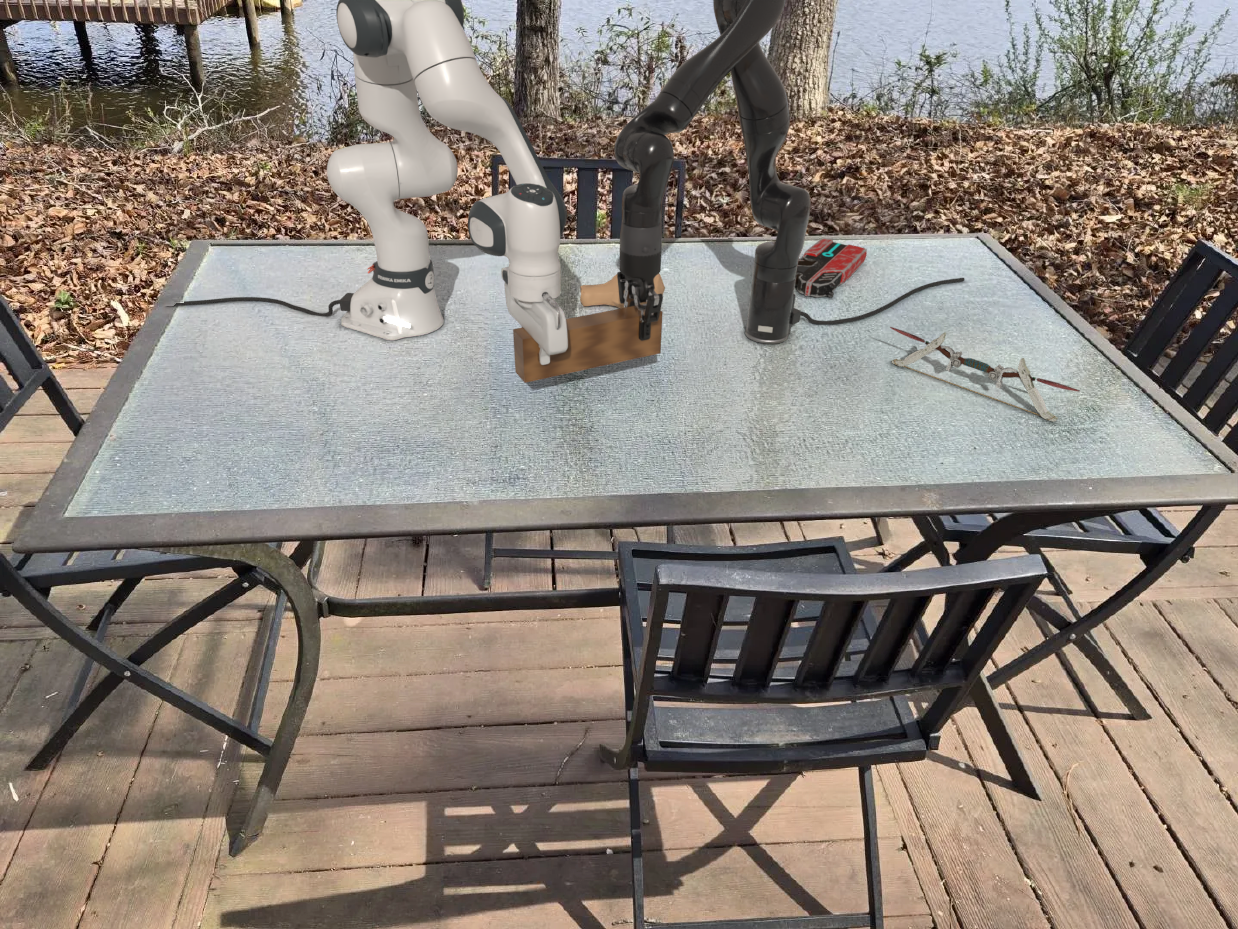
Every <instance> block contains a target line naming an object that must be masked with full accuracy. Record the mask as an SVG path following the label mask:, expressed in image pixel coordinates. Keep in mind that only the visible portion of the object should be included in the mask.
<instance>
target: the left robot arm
mask: <svg viewBox="0 0 1238 929" xmlns="http://www.w3.org/2000/svg"><path fill="white" fill-rule="evenodd" d="M335 13H336V23H337V28H338V31H339V34H340V36H341V39H342V41H343V43H344V45H345V46H346V47H347V49H349V50H350V51H351V52H352V55H353V72H354V80H355V89H356V98H357V108H358V111H359V114H360V116H361V118H362V119H363V120H364V122H366V123H367V124H368V125H369V126H371V127H372V128H374V129H376V130H378V131H380V132H383V133H386V134H388V135H390V136H392V138H393V140H392V141H389V142H376V143H374V142H373V143H361V144H360V143H359V144H353V145H349V146H346V147H341V148H339V149H335V150H334V151H333V152H332V153H331V155H330V156H329V159H328V161H327V165H326V176H327V181H328V184H329V186H330V188H331V189H332V192H334V194H335V195H336V196H337V197H339V198H340V199H341V200H342V201H344V202H346V203H347V204H348V205H351V206H352V207H353V208H355V209H356V210H357V211H358V212H359V213H360V214H361V215H362V217H363V218H364V220H365V221H366V222H367V224H368V227H369V229H370V231H371V235H372V240H373V243H374V248H375V253H376V254H375V255H376V261H374V262H373V263H372V265H371V266H369V267H368V268H367V274H370V273H372V277H371V278H370V279H369V280H367V282H365V283H364V284H363V285H362V286H360V287H359V288H358V289H356V290H355V292H346V293H345V294H344V295H343V296H342V297H341V298H340V299H335V300H333V301H331V302H330V303H329V304H328V311H327V312H324V313H321V312H316V311H314V310H311V309H308V308H305V307H302V306H298V305H295V304H291V303H289V302H286V301H284V300H280V299H277V298H270V297H260V296H259V297H258V296H237V297H235V296H233V297H221V298H212V299H202V300H201V299H200V300H184V303H176V304H175V305H174V306H173V307H182V306H183V307H184V306H197V305H199V306H200V305H210V304H223V303H231V302H232V303H233V302H263V303H271V304H276V305H281V306H283V307H286V308H288V309H291V310H294V311H297V312H302V313H305V314H307V315H311V316H317V317H326V318H327V317H331V316H332V315H333V313H334V307H335V306H336V305H339V308H340V311H341V312H346V313H344V314H343V316H342V317H341V320H340V324H341V326H342V327H344V328H347V329H350V330H354V331H357V332H360V333H364V334H367V335H370V336H373V337H377V338H380V339H383V340H387V341H396V340H397V341H398V340H401V339H404V338H412V337H420V336H423V335H427V334H430V333H431V334H432V333H434V332H436V331H437V330H439V329H441V327H442V326H443V325H444V323H445V320H444V317H443V314H442V312H441V310H440V307H439V303H438V300H437V296H436V291H435V271H434V264H433V260H432V259H431V253H430V243H429V232H428V229H427V226H426V225H425V223H424V222H423V221H422V220H421V219H420V218H419V217H417V216H415V215H414V214H410V213H408V212H405V211H402V210H400V209H399V208H397V207H396V206H395V201H398V200H405V199H415V198H426V197H432V196H436V195H439V194H442V193H446V192H449V191H451V190H452V188H453V187H454V186H455V184H456V182H457V179H458V175H459V174H458V173H459V169H458V168H459V167H458V161H457V159H456V156H455V154H454V152H453V150H452V149H451V148H450V147H449V146H448V145H447V144H446V143H444V142H443V141H442V140H440V139H439V138H437V137H436V136H434V134H433V133H432V132H431V131H430V129H428V127H427V125H426V124H425V122H424V119H423V118H422V116H421V111H420V105H419V99H420V101H421V103H422V105H423V107H424V109H425V110H426V112H427V113H428V114H429V116H430V117H431V118H433V119H434V120H435V121H437V122H438V123H439V124H441V125H443V126H445V127H447V128H449V129H453V130H457V131H461V132H466V133H469V134H473V135H476V136H478V137H481V138H483V139H485V140H487V141H488V142H490V143H491V144H493V146H494V147H496V149H497V150H498V152H499V153H500V155H501V157H502V158H503V161H504V162H505V165H506V167H507V169H508V171H509V173H510V175H511V177H512V179H513V181H514V182H515V185H513V186H512V187H510V189H509V190H508V191H507V192H504V193H500V194H495V195H491V196H487V197H484V198H482V199H478V200H477V201H475V202H474V203H473V204H472V206H471V208H470V209H469V212H468V217H467V230H468V235H469V238H470V241H471V242H472V244H473V245H474V246H475V248H477V249H478V250H479V251H481V252H482V253H484V254H486V255H490V256H494V257H505V258H506V259H508V266H506V267H502V268H501V271H500V273H501V279H502V280H503V281H504V283H503V285H504V296H505V304H506V308H507V311H508V314H509V315H510V316H511V317H512V318H513V320H515V321H516V322H517V324H519V325H520V326H521V327H520V328H522V327H523V328H524V329H525V330H526V331H527V332H528V333H529V334H530V335H531V337H532V338H533V339H534V340H535V341H536V342H537V343H538V344H539V348H540V352H539V353H538V361H539V362H540V364H541V365H545V364H549V363H550V355H554V354H559V353H563V352H566V350H567V348H568V336H567V324H566V319H567V317H566V314H565V312H564V309H563V308H562V307H561V306H560V305H559V303H558V302H557V300H556V299H557V298H559V297H560V295H561V293H562V271H561V270H562V267H561V266H562V265H561V261H560V257H559V250H560V245H561V236H562V234H563V232H564V230H565V227H566V225H567V220H568V210H567V205H566V203H565V201H564V199H563V197H562V195H561V194H560V192H559V191H558V190H557V188H556V187H555V185H554V184H553V183H552V181H551V179H550V178H549V176H548V175H547V172H546V170H545V168H544V166H543V165H542V163H541V161H540V159H539V156H538V155H537V153H536V151H535V148H534V147H533V144H532V142H531V141H530V138H529V137H528V134H527V132H526V130H525V129H524V127H523V125H522V123H521V120H520V119H519V117H518V116H517V113H516V112H515V110H514V109H513V107H512V106H511V104H510V103H509V101H507V99H505V98H504V97H502V96H501V95H499V93H497V92H496V91H495V90H494V88H493V87H492V85H491V84H490V83H489V81H488V80H487V79H486V77H485V76H484V74H483V72H482V70H481V68H480V65H479V63H478V61H477V58H476V55H475V52H474V50H473V47H472V46H471V43H470V41H469V39H468V36H467V34H466V32H465V30H464V24H465V10H464V5H463V2H462V0H338V2H337V4H336V12H335ZM418 96H419V99H418Z"/></svg>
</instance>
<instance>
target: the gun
mask: <svg viewBox="0 0 1238 929" xmlns="http://www.w3.org/2000/svg"><path fill="white" fill-rule="evenodd" d="M867 251H868V250H867V248H865V247H862V246H859V245H854V244H844V243H839V242H836V241H834V240H833V239H829V238H826V237H825V238H820V239H819V240H817V241H816V242H815V243H814V244H813V245H812V246H810V247H809V248H807V250H805V251H804V252H803V256H802V257H801V258H799V260H798V267H797V274H796V282H795V286H796V290H797V291H798V293H799V294H802V295H804V297H813V298H822V297H827V298H831V299H832V298H834V295H835V293H834V291H835V290H836V289H837V288H838V287H840V286H842V285H843V284H844V283H846V282H847V280H849V279H850V278H851V277H852V276H853V275H854V274H855V273H856V272H857V270H859V268H860V267H861V266H862V265H863V264H864V263H865V261H866V258H867V255H868V254H867V253H868V252H867Z"/></svg>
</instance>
